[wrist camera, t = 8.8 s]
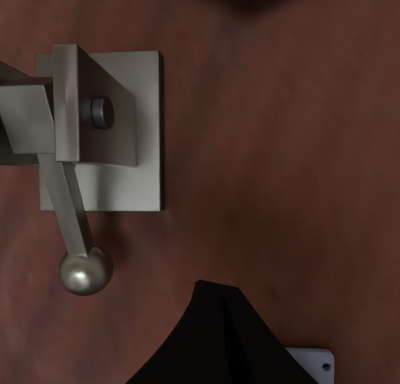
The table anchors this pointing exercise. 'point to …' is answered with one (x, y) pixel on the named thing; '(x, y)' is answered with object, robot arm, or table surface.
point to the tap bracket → (102, 126)
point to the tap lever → (55, 181)
